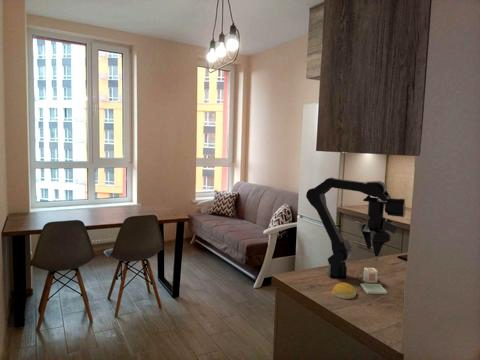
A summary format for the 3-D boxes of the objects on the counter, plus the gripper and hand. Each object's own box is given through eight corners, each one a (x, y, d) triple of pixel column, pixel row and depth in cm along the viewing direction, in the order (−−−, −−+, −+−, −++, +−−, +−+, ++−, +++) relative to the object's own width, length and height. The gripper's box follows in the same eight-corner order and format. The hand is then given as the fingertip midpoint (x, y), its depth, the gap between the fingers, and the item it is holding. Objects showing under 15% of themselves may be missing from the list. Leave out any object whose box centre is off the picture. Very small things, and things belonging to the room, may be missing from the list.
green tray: (367, 294, 131) (367, 291, 131) (360, 286, 139) (360, 283, 139) (387, 294, 131) (387, 291, 131) (379, 287, 139) (379, 284, 139)
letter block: (366, 283, 141) (367, 271, 140) (363, 279, 145) (364, 267, 144) (376, 283, 141) (377, 271, 140) (373, 279, 145) (373, 267, 144)
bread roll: (330, 297, 128) (330, 286, 128) (335, 288, 136) (335, 278, 136) (353, 302, 125) (354, 291, 124) (357, 293, 133) (358, 282, 132)
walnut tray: (363, 285, 139) (364, 282, 139) (357, 278, 147) (357, 276, 147) (382, 286, 139) (382, 283, 139) (375, 279, 147) (375, 276, 147)
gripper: (406, 219, 129) (402, 261, 131) (387, 210, 147) (384, 246, 149) (375, 218, 129) (372, 259, 131) (360, 208, 148) (357, 245, 150)
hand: (372, 252), depth 140 cm, fingers open, 9 cm apart
